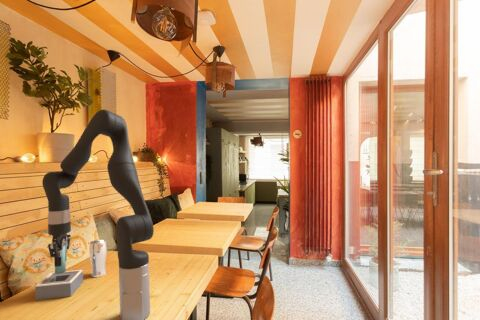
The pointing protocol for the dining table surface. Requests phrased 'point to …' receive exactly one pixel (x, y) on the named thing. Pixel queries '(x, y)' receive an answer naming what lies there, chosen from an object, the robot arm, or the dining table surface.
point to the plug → (63, 267)
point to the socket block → (59, 285)
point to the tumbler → (98, 257)
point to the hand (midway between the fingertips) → (60, 263)
